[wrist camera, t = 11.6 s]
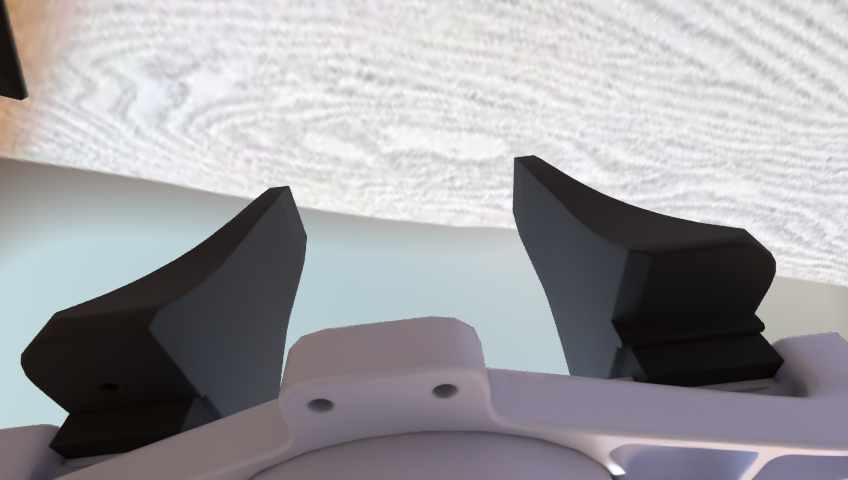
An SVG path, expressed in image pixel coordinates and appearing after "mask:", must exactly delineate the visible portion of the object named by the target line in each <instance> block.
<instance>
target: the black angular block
mask: <svg viewBox="0 0 848 480" xmlns="http://www.w3.org/2000/svg"><path fill="white" fill-rule="evenodd" d="M0 95H1V96H5V97H9V98H13V99H17V100H23V99H25V98H27V97H28V91H27V87H26V83H25V79H24V75H23V71H22V67H21V62H20V58H19V54H18V50H17V46H16V42H15V38H14V34H13V30H12V26H11V22H10V18H9V14H8V10H7V6H6V2H5V0H0Z"/></svg>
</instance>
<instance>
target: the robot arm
mask: <svg viewBox="0 0 848 480" xmlns="http://www.w3.org/2000/svg"><path fill="white" fill-rule="evenodd" d="M513 214H514V218H515V222H516V225H517V229H518V232H519V235H520V238H521V240H522V242H523V245H524V246H525V249H526V251H527V253H528V255H529V258H530V260H531V262H532V264H533V266H534V269H535V271H536V273H537V275H538V277H539V279H540V281H541V284H542V286H543V288H544V291H545V293H546V296H547V299H548V302H549V305H550V308H551V311H552V314H553V317H554V320H555V324H556V327H557V330H558V334H559V337H560V341H561V344H562V347H563V351H564V354H565V358H566V362H567V365H568V369H569V373H570V376H569V375H558V374H548V373H537V372H528V371H518V370H508V369H507V370H506V369H497V368H487V367H486V365H485V360H484V355H483V351H482V346H481V342H480V339H479V337H478V335H477V334H476V331H475V329H474V328H473V327H471V326H470V325H468V324H466V323H464V322H462V321H460V320H458V319H456V318H450V317H434V316H429V317H420V318H413V319H404V320H395V321H387V322H378V323H370V324H362V325H354V326H346V327H337V328H329V329H323V330H320V331H317V332H314V333H311V334H308V335H305V336H302V337H301V338H300V339H299V340H298V341H297V342H296V343H295V344H294V345H293V346H292V347H291V348H290V349H289V353H288V357H287V361H286V366H285V370H284V374H283V379H282V383H281V387H280V382H281V373H282V364H283V355H284V348H285V341H286V334H287V328H288V323H289V318H290V314H291V311H292V307H293V303H294V300H295V296H296V292H297V289H298V285H299V281H300V277H301V273H302V270H303V265H304V260H305V252H306V241H307V235H306V233H305V230H304V227H303V224H302V221H301V218H300V216H299V213H298V210H297V207H296V204H295V201H294V199H293V196H292V193H291V190H290V187H289V186H283V187H275V188H270V189H268V190H266V191H265V192H264V193H262V194H261V195H260V196H259V197H258V198H256V199H255V200H254V201H253V202H252V203H251V204H249V205H248V206H247V207H246V208H245V209H243V210H242V211H241V212H240V213H239V214H238V215H236V216H235V217H234V218H233V219H232V220H231V221H230V222H228V223H227V224H225V225H224V226H223V227H222V228H220V229H219V230H218V231H216V232H215V233H214V234H213V235H211V236H210V237H209V238H207V239H206V240H205V241H203V242H202V243H200V244H199V245H198V246H196V247H195V248H193V249H192V250H190V251H188V252H187V253H185V254H184V255H182V256H181V257H179V258H178V259H176V260H174V261H172V262H170V263H169V264H167V265H165V266H163V267H161V268H159V269H158V270H156V271H154V272H152V273H150V274H148V275H146V276H145V277H143V278H140V279H138V280H136V281H134V282H132V283H130V284H128V285H126V286H123V287H121V288H118V289H116V290H114V291H112V292H110V293H107V294H104V295H102V296H100V297H97V298H94V299H92V300H89V301H86V302H84V303H81V304H78V305H76V306H73V307H70V308H68V309H65V310H62V311H59V312H56V313H55V314H54V315H53V316H52V317H51V319H50V320H49V321H48V322H47V324H46V325H45V326H44V327H43V328H42V330H41V331H40V332H39V333H38V335H37V336H36V337H35V338H34V339H33V341H32V342H31V343H30V344H29V345H28V347H27V348H26V349H25V350H24V352H23V353H22V354H21V366H22V368H23V370H24V372H25V374H26V376H27V377H28V378H29V379H30V381H32V383H33V384H34V385H36V386H37V387H38V388H39V389H40V390H41V391H43V392H44V393H45V394H46V395H47V396H49V397H50V398H51V399H52V400H53V401H55V402H56V403H57V404H58V405H60V406H61V407H62V408H63V409H64V410H66V411H67V412H68V413H70V414H69V416H68V417H67V419H66V420H65V422H64V423H63V425H62V426H61V427H59V426H54V425H50V424H41V425H32V426H23V427H14V428H6V429H1V430H0V480H848V342H847V341H846V340H845V339H844V338H842V337H841V336H840V335H839V334H838V333H836V332H827V333H818V334H809V335H801V336H792V337H787V338H783V339H780V340H778V341H776V342H774V343H772V344H771V345H770V344H769V343H768V341H767V340H766V339H765V338H764V337H763V336H762V335H761V333H760V332H763V331H764V329H765V325H764V323H763V322H762V321H761V320H760V319H759V318H758V317H757V316H756V314H755V312H756V310H757V308H758V306H759V305H760V303H761V301H762V299H763V298H764V296H765V294H766V293H767V291H768V289H769V287H770V285H771V283H772V281H773V278H774V276H775V273H776V261H775V259H774V257H773V255H772V254H771V252H770V251H768V250H767V249H766V248H765V247H764V246H763V245H762V244H761V243H759V242H758V241H757V240H756V239H755V238H754V237H753V236H752V235H751V234H749V233H748V232H747V231H746V230H745V229H741V228H734V227H727V226H719V225H712V224H705V223H699V222H694V221H689V220H684V219H680V218H675V217H671V216H667V215H663V214H659V213H655V212H652V211H649V210H645V209H642V208H639V207H636V206H633V205H630V204H627V203H624V202H622V201H619V200H617V199H614V198H612V197H609V196H607V195H605V194H602V193H600V192H598V191H596V190H594V189H592V188H590V187H588V186H586V185H584V184H582V183H581V182H579V181H577V180H575V179H573V178H572V177H570V176H568V175H566V174H565V173H563V172H561V171H560V170H558V169H557V168H555V167H553V166H552V165H550V164H548V163H547V162H545V161H544V160H542V159H540V158H538V157H536V156H534V155H531V156H523V157H515V158H514V185H513Z"/></svg>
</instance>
